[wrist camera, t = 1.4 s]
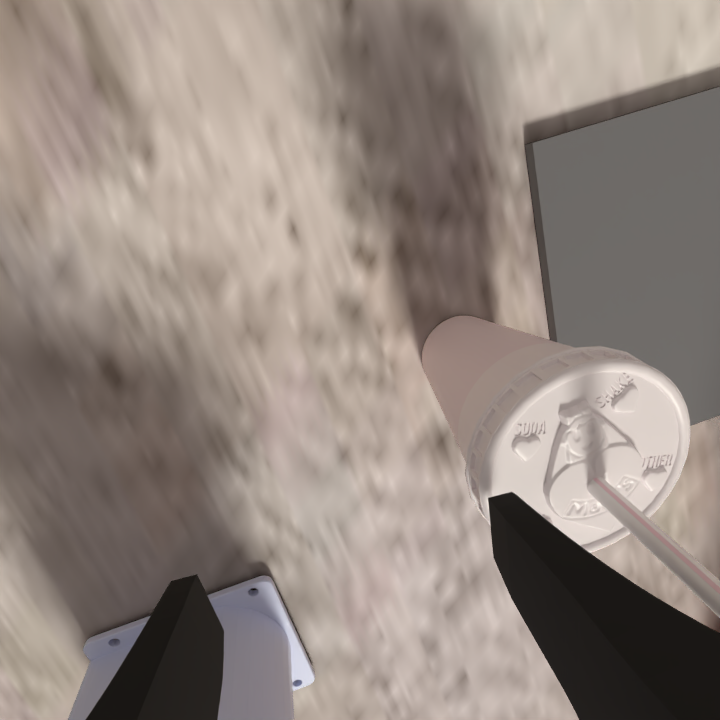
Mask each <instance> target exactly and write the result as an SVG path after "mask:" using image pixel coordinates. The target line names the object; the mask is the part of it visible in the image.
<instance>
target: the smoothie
mask: <svg viewBox="0 0 720 720" xmlns="http://www.w3.org/2000/svg"><path fill="white" fill-rule="evenodd" d="M422 365H423V369H424V372H425V374H426V376H427V378H428V380H429V382H430V385H431V387H432V389H433V391H434V393H435V396H436V398H437V400H438V402H439V404H440V406H441V409H442V411H443V413H444V415H445V417H446V419H447V422H448V424H449V426H450V428H451V430H452V433H453V435H454V437H455V439H456V441H457V443H458V446H459V448H460V450H461V453H462V455H463V457H464V460H465V462H466V469H465V476H466V480H467V484H468V489H469V493H470V497H471V499H472V501H473V502H474V504H475V505H476V507H477V509H478V510H479V512H480V514H481V515H482V517H483V518H485V519H486V520H487V521H488V523H489V524H490V514H489V503H488V498H489V497H493V496H497V495H501V494H505V493H508V492H513V493H515V494H516V495H518V496H519V497H520V498H521V499H522V500H523V501H525V502H526V503H527V504H528V505H529V506H531V507H532V508H533V509H534V510H535V511H537V512H538V513H539V514H540V515H541V516H543V517H544V518H545V519H546V520H548V521H549V522H550V523H551V524H553V525H554V526H555V527H556V528H558V529H559V530H560V531H561V532H563V533H564V534H565V535H567V536H568V537H569V538H570V539H572V540H573V541H575V542H576V543H577V544H579V545H580V546H581V547H583V548H584V549H585V550H587V551H588V552H589V553H591V552H594V551H596V550H599V549H602V548H604V547H607V546H609V545H611V544H613V543H615V542H617V541H618V540H620V539H622V538H624V537H625V536H627V535H629V534H630V533H632V534H633V535H634V536H635V537H636V538H637V539H638V540H639V541H640V542H641V543H642V544H643V545H644V546H645V547H646V548H647V549H648V550H649V551H650V552H651V553H652V554H653V555H655V556H656V557H657V558H658V559H659V560H660V561H661V562H662V563H663V564H664V565H665V566H666V567H667V568H668V569H669V570H670V571H671V572H672V573H673V574H674V575H675V576H676V577H677V578H678V579H680V580H681V581H682V582H683V583H684V584H685V585H686V586H687V587H688V588H689V589H690V590H691V591H692V592H693V593H694V594H695V595H696V596H697V597H698V598H699V599H700V600H701V601H702V602H703V603H705V604H706V605H707V606H708V607H709V608H710V609H711V610H712V611H713V612H714V613H715V614H716V615H717V616H718V617H719V618H720V580H719V579H718V578H717V577H716V576H715V575H713V574H712V573H711V572H710V571H709V570H708V569H707V568H705V567H704V566H703V565H702V564H701V563H700V562H699V561H697V560H696V559H695V558H694V557H693V556H692V555H691V554H689V553H688V552H687V551H686V550H685V549H684V548H683V547H681V546H680V545H679V544H678V543H677V542H676V541H675V540H673V539H672V538H671V537H670V536H669V535H668V534H667V533H665V532H664V531H663V530H662V529H661V528H660V527H658V526H657V525H656V524H655V523H654V522H653V521H652V520H650V519H649V517H650V516H651V515H652V514H653V513H654V512H655V511H656V510H657V509H658V508H659V507H660V506H661V505H662V503H663V502H664V501H665V499H666V498H667V497H668V495H669V494H670V493H671V491H672V489H673V488H674V486H675V484H676V482H677V480H678V478H679V477H680V475H681V472H682V469H683V467H684V464H685V461H686V458H687V455H688V449H689V443H690V418H689V413H688V409H687V406H686V403H685V401H684V399H683V397H682V395H681V393H680V391H679V390H678V388H677V387H676V385H675V384H674V383H673V382H672V381H671V380H670V379H669V378H668V377H667V376H665V375H664V374H663V373H662V372H660V371H658V370H657V369H655V368H653V367H651V366H649V365H647V364H646V363H644V362H642V361H641V360H639V359H638V358H636V357H634V356H633V355H631V354H629V353H628V352H625V351H621V350H616V349H612V348H608V347H603V346H593V347H578V348H575V347H572V346H569V345H564V344H561V343H557V342H554V341H551V340H548V339H544V338H541V337H538V336H535V335H531V334H528V333H525V332H522V331H519V330H515V329H512V328H509V327H506V326H502V325H499V324H496V323H493V322H489V321H486V320H483V319H480V318H476V317H473V316H456V317H452V318H450V319H447V320H445V321H443V322H442V323H440V324H439V325H438V326H437V327H436V328H434V329H433V331H432V332H431V333H430V334H429V336H428V337H427V339H426V341H425V344H424V347H423V350H422ZM490 526H491V524H490Z"/></svg>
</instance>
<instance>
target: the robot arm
mask: <svg viewBox="0 0 720 720" xmlns="http://www.w3.org/2000/svg"><path fill="white" fill-rule="evenodd" d="M488 503H489V514H490V524H491V535H492V545H493V555H494V559H495V562H496V564H497V566H498V569H499V571H500V573H501V575H502V578H503V580H504V582H505V585H506V587H507V589H508V591H509V593H510V596H511V598H512V600H513V602H514V603H515V605H516V607H517V609H518V610H519V612H520V614H521V616H522V618H523V619H524V621H525V623H526V625H527V626H528V628H529V630H530V632H531V633H532V635H533V637H534V639H535V640H536V642H537V644H538V646H539V647H540V649H541V651H542V653H543V654H544V656H545V658H546V659H547V661H548V663H549V665H550V666H551V668H552V670H553V672H554V673H555V675H556V677H557V679H558V680H559V682H560V684H561V686H562V687H563V689H564V691H565V693H566V695H567V696H568V698H569V700H570V702H571V704H572V706H573V708H574V710H575V712H576V714H577V716H578V718H579V720H720V633H718V632H716V631H714V630H712V629H711V628H709V627H707V626H705V625H703V624H702V623H700V622H698V621H696V620H694V619H693V618H691V617H689V616H687V615H685V614H684V613H682V612H680V611H678V610H677V609H675V608H673V607H672V606H670V605H668V604H667V603H665V602H663V601H662V600H660V599H658V598H656V597H655V596H653V595H652V594H650V593H648V592H647V591H645V590H644V589H642V588H640V587H639V586H637V585H636V584H634V583H633V582H631V581H630V580H628V579H627V578H625V577H624V576H622V575H621V574H619V573H618V572H616V571H615V570H613V569H612V568H610V567H609V566H607V565H606V564H605V563H603V562H602V561H600V560H599V559H598V558H596V557H595V556H593V555H592V554H591V553H589V552H588V551H587V550H585V549H584V548H583V547H581V546H580V545H579V544H577V543H576V542H575V541H573V540H572V539H570V538H569V537H568V536H567V535H565V534H564V533H563V532H561V531H560V530H559V529H558V528H556V527H555V526H554V525H553V524H551V523H550V522H549V521H548V520H546V519H545V518H544V517H543V516H541V515H540V514H539V513H538V512H537V511H535V510H534V509H533V508H532V507H531V506H529V505H528V504H527V503H526V502H525V501H523V500H522V499H521V498H520V497H519V496H518V495H516V494H515V493H513V492H508V493H505V494H501V495H497V496H493V497H489V498H488ZM251 588H256V590H250V589H251ZM115 639H118V640H115ZM83 651H84V653H85V655H86V656H87V658H88V659H89V660H90V663H89V666H88V669H87V671H86V674H85V676H84V679H83V682H82V684H81V687H80V689H79V692H78V695H77V697H76V700H75V702H74V705H73V707H72V710H71V713H70V715H69V718H68V720H294V707H293V691H295V690H297V689H300V688H302V687H305V686H308V685H310V684H312V683H313V681H314V680H315V673H314V669H313V667H312V665H311V663H310V660H309V658H308V656H307V654H306V652H305V649H304V647H303V645H302V643H301V641H300V639H299V636H298V634H297V632H296V630H295V628H294V625H293V623H292V621H291V619H290V617H289V615H288V612H287V610H286V608H285V606H284V604H283V601H282V599H281V597H280V595H279V593H278V591H277V588H276V586H275V584H274V582H273V580H272V579H271V577H269V576H264V575H263V576H259V577H256V578H253V579H251V580H248V581H245V582H242V583H240V584H237V585H234V586H231V587H229V588H226V589H223V590H220V591H217V592H215V593H212V594H209V595H207V594H206V592H205V590H204V588H203V586H202V584H201V582H200V580H199V578H198V576H197V575H193V576H189V577H185V578H182V579H178V580H174V581H171V583H170V584H169V586H168V587H167V589H166V591H165V592H164V594H163V596H162V597H161V599H160V601H159V602H158V604H157V606H156V607H155V609H154V611H153V613H152V614H151V616H148V617H145V618H143V619H140V620H137V621H134V622H131V623H129V624H126V625H123V626H120V627H118V628H115V629H112V630H109V631H107V632H104V633H101V634H98V635H95V636H93V637H91V638H89V639H88V640H87V641H86V643H85V645H84V648H83Z"/></svg>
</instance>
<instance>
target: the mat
mask: <svg viewBox="0 0 720 720" xmlns="http://www.w3.org/2000/svg"><path fill="white" fill-rule="evenodd" d="M525 150H526V157H527V165H528V173H529V180H530V188H531V196H532V203H533V211H534V219H535V226H536V234H537V241H538V249H539V257H540V264H541V272H542V280H543V287H544V295H545V303H546V310H547V318H548V326H549V333H550V340H551V341H554V342H557V343H561V344H564V345H569V346H572V347H575V348H578V347H593V346H603V347H608V348H612V349H616V350H621V351H625V352H628V353H629V354H631V355H633V356H634V357H636V358H638V359H639V360H641V361H642V362H644V363H646V364H647V365H649V366H651V367H653V368H655V369H657V370H658V371H660V372H662V373H663V374H664V375H665V376H667V377H668V378H669V379H670V380H671V381H672V382H673V383H674V384H675V385H676V387H677V388H678V390H679V391H680V393H681V395H682V397H683V399H684V401H685V403H686V406H687V409H688V413H689V418H690V426H691V425H694V424H697V423H699V422H702V421H705V420H708V419H710V418H713V417H716V416H719V415H720V86H719V87H716V88H712V89H709V90H706V91H702V92H699V93H696V94H692V95H689V96H686V97H682V98H679V99H676V100H672V101H669V102H666V103H662V104H659V105H656V106H652V107H649V108H646V109H642V110H639V111H636V112H632V113H629V114H626V115H622V116H619V117H616V118H613V119H609V120H606V121H603V122H599V123H596V124H593V125H589V126H586V127H583V128H579V129H576V130H573V131H569V132H566V133H563V134H559V135H556V136H553V137H549V138H546V139H543V140H539V141H536V142H533V143H529V144H526V145H525Z"/></svg>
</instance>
